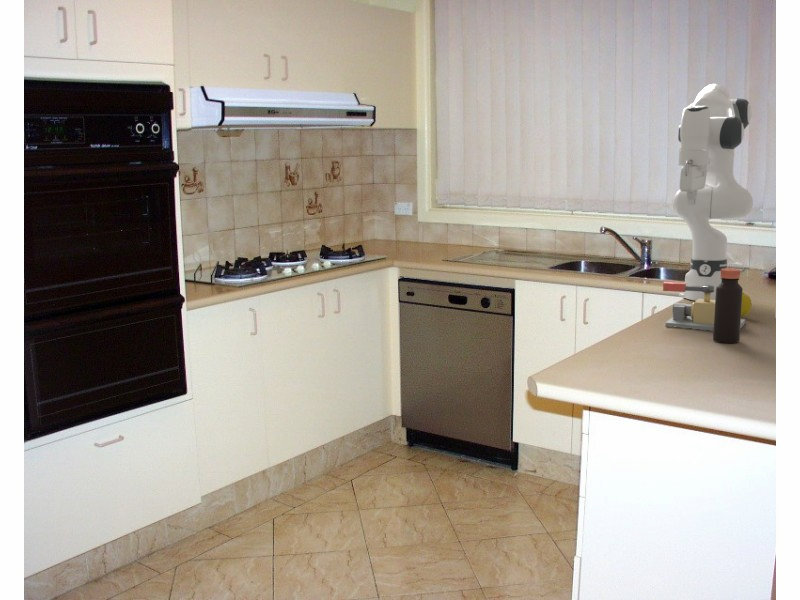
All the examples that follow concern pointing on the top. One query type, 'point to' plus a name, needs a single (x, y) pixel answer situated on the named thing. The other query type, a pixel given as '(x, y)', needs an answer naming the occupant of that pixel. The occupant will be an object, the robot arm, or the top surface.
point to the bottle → (728, 307)
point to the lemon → (745, 305)
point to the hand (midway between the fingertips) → (691, 205)
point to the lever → (686, 287)
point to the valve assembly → (695, 314)
